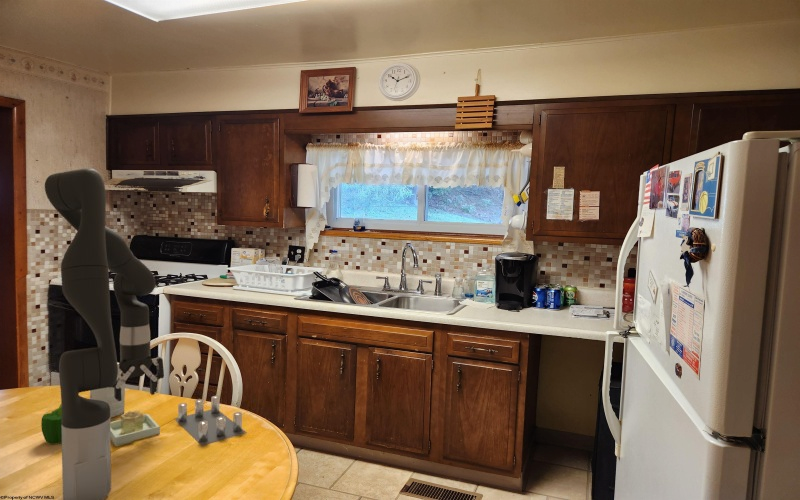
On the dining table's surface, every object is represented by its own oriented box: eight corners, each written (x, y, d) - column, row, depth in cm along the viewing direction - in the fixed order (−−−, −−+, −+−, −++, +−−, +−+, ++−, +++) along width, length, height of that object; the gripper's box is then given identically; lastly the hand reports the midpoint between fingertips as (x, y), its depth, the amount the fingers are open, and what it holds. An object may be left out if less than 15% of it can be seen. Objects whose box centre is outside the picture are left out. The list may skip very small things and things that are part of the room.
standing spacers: (243, 430, 146) (243, 414, 146) (200, 442, 138) (200, 425, 137) (217, 410, 160) (217, 395, 159) (177, 420, 151) (177, 404, 151)
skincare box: (89, 414, 154) (88, 364, 153) (110, 407, 160) (109, 359, 159) (105, 420, 151) (105, 369, 149) (126, 412, 156) (126, 364, 155)
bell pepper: (60, 449, 132) (59, 413, 131) (34, 445, 134) (33, 409, 133) (86, 435, 140) (85, 401, 140) (61, 432, 142) (60, 397, 141)
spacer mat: (246, 434, 145) (246, 432, 145) (201, 447, 136) (201, 445, 136) (216, 409, 161) (216, 408, 161) (173, 420, 152) (173, 418, 152)
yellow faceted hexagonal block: (144, 433, 142) (144, 415, 142) (124, 437, 139) (124, 420, 139) (138, 426, 147) (138, 409, 146) (119, 430, 143) (119, 413, 143)
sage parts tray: (159, 435, 143) (159, 426, 142) (115, 446, 135) (115, 437, 135) (147, 421, 151) (147, 413, 151) (105, 431, 143) (105, 423, 143)
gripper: (109, 347, 133) (110, 407, 134) (166, 339, 143) (166, 395, 144) (103, 341, 139) (104, 398, 140) (158, 334, 148) (159, 388, 149)
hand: (136, 397), depth 142 cm, fingers open, 8 cm apart
